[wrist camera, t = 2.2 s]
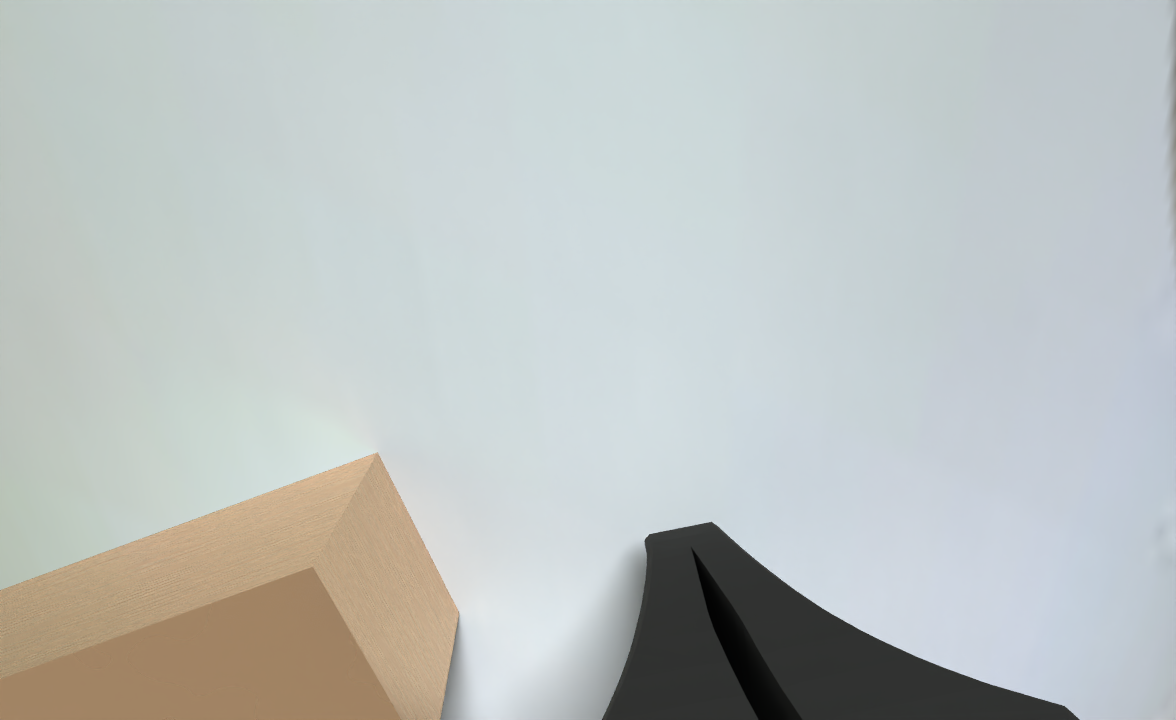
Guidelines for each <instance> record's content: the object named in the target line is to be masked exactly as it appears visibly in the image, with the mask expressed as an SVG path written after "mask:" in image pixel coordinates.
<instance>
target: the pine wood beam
mask: <svg viewBox="0 0 1176 720" xmlns="http://www.w3.org/2000/svg"><path fill="white" fill-rule="evenodd" d="M458 617H459V611H458V609H457V607H456V605H455V604H454V602H453V600H452V598H451V596H450V594H449V592H448V590H447V588H446V586H445V584H444V582H443V580H442V578H441V576H440V574H439V572H438V570H437V568H436V566H435V564H434V562H433V560H432V558H431V556H430V554H429V552H428V550H427V549H426V547H425V545H424V543H423V541H422V539H421V537H420V535H419V533H418V531H417V529H416V527H415V525H414V523H413V521H412V519H411V517H410V515H409V513H408V511H407V509H406V507H405V505H404V503H403V501H402V499H401V497H400V495H399V494H398V492H397V490H396V488H395V486H394V484H393V482H392V480H391V478H390V476H389V474H388V472H387V470H386V468H385V466H384V464H383V462H382V460H381V458H380V456H379V454H378V452H377V453H375V454H372V455H369V456H367V457H364V458H361V459H358V460H356V461H353V462H350V463H347V464H345V465H342V466H339V467H336V468H334V469H331V470H328V471H325V472H323V473H320V474H317V475H314V476H312V477H309V478H306V479H304V480H301V481H298V482H295V483H293V484H290V485H287V486H284V487H282V488H279V489H276V490H273V491H271V492H268V493H265V494H262V495H260V496H257V497H254V498H252V499H249V500H246V501H243V502H241V503H238V504H235V505H232V506H230V507H227V508H224V509H221V510H219V511H216V512H213V513H210V514H208V515H205V516H202V517H199V518H197V519H194V520H191V521H189V522H186V523H183V524H180V525H178V526H175V527H172V528H169V529H167V530H164V531H161V532H158V533H156V534H153V535H150V536H147V537H145V538H142V539H139V540H136V541H134V542H131V543H128V544H126V545H123V546H120V547H117V548H115V549H112V550H109V551H106V552H104V553H101V554H98V555H95V556H93V557H90V558H87V559H84V560H82V561H79V562H76V563H73V564H71V565H68V566H65V567H63V568H60V569H57V570H54V571H52V572H49V573H46V574H43V575H41V576H38V577H35V578H32V579H30V580H27V581H24V582H21V583H19V584H16V585H13V586H11V587H8V588H5V589H2V590H0V720H440V717H441V712H442V706H443V701H444V695H445V690H446V684H447V679H448V673H449V667H450V662H451V656H452V651H453V645H454V640H455V634H456V628H457V623H458Z"/></svg>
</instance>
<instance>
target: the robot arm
mask: <svg viewBox="0 0 1176 720" xmlns="http://www.w3.org/2000/svg"><path fill="white" fill-rule="evenodd" d="M645 547H646V552H647V570H646V581H645V587H644V594H643V601H642V606H641V611H640V615H639V619H638V623H637V627H636V631H635V635H634V639H633V643H632V646H631V649H630V652H629V655H628V658H627V661H626V664H625V667H624V670H623V672H622V675H621V678H620V680H619V683H618V685H617V687H616V690H615V692H614V694H613V697H612V699H611V701H610V704H609V706H608V708H607V710H606V712H605V714H604V717H603V719H602V720H1079V719H1078V718H1077V717H1076V716H1075V715H1074V714H1073V713H1072V712H1071V711H1069V710H1068V709H1067V708H1066V707H1065V706H1062V705H1059V704H1055V703H1052V702H1048V701H1045V700H1041V699H1038V698H1035V697H1031V696H1028V695H1024V694H1021V693H1017V692H1014V691H1011V690H1007V689H1004V688H1000V687H997V686H993V685H990V684H987V683H984V682H981V681H979V680H976V679H973V678H970V677H968V676H965V675H962V674H959V673H957V672H954V671H951V670H948V669H946V668H943V667H940V666H938V665H935V664H933V663H931V662H928V661H926V660H923V659H921V658H918V657H916V656H914V655H911V654H909V653H907V652H905V651H903V650H900V649H898V648H896V647H894V646H892V645H890V644H887V643H885V642H883V641H881V640H879V639H877V638H875V637H873V636H871V635H869V634H867V633H865V632H863V631H861V630H859V629H857V628H856V627H854V626H852V625H850V624H848V623H847V622H845V621H843V620H841V619H839V618H838V617H836V616H834V615H832V614H831V613H829V612H827V611H826V610H824V609H822V608H821V607H819V606H818V605H816V604H815V603H813V602H812V601H810V600H809V599H807V598H806V597H804V596H803V595H801V594H800V593H799V592H797V591H796V590H794V589H793V588H792V587H790V586H789V585H787V584H786V583H785V582H783V581H782V580H781V579H779V578H778V577H777V576H776V575H774V574H773V573H772V572H770V571H769V570H768V569H767V568H765V567H764V566H763V565H761V564H760V563H759V562H758V561H756V560H755V559H754V558H753V557H752V556H750V555H749V554H748V553H747V552H746V551H745V550H743V549H742V548H741V547H740V546H739V545H738V544H737V543H735V542H734V541H733V540H732V539H731V538H730V537H729V536H728V535H727V534H726V533H724V532H723V531H722V530H721V529H720V528H719V527H718V526H717V525H715V524H714V523H712V522H709V523H704V524H699V525H694V526H689V527H684V528H679V529H674V530H669V531H664V532H659V533H654V534H649V535H648V537H647V538H646V539H645Z"/></svg>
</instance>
